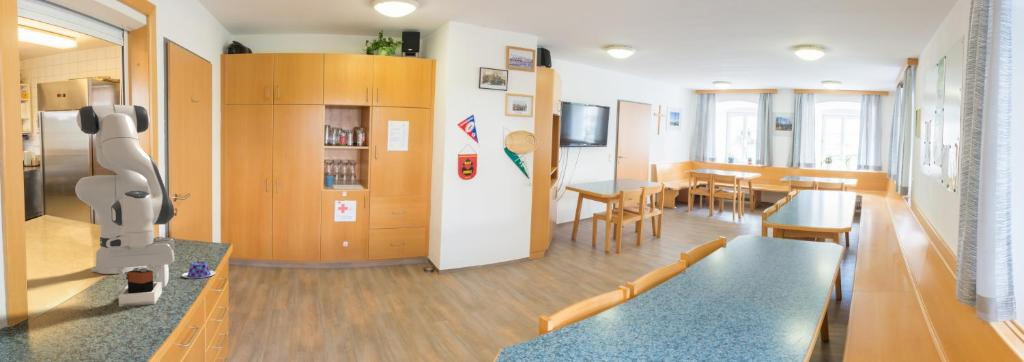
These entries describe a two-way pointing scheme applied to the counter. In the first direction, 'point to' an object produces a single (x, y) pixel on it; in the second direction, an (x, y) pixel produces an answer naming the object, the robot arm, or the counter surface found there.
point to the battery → (140, 280)
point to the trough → (140, 296)
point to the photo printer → (162, 275)
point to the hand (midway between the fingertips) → (140, 278)
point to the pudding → (198, 270)
